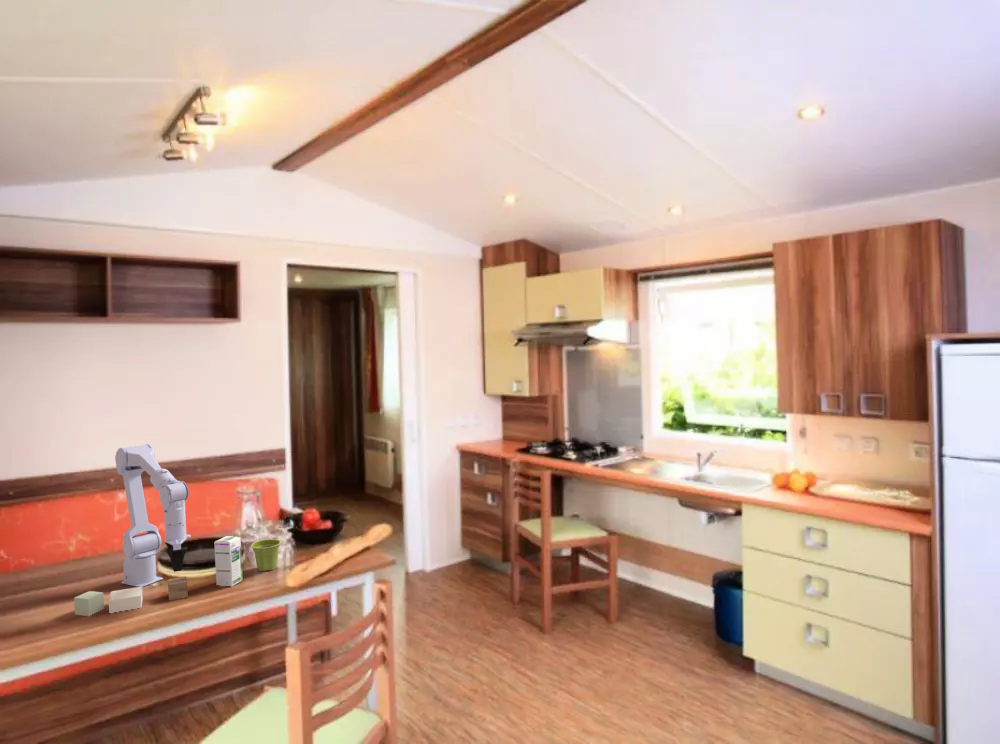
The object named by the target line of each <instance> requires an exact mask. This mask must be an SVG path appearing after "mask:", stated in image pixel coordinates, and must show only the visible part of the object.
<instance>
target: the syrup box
mask: <svg viewBox="0 0 1000 744" xmlns="http://www.w3.org/2000/svg"><path fill="white" fill-rule="evenodd" d="M242 560H243V558H242V540H241V536H237V535H228V536H227V535H226V536H224V537H222V538H220V539H218V540H215V541H214V563H215V564H214V565H215V579H216V580H215V581H216V582H215V583H216V586H217V585H220V586H219V587H225V586H230V588H233V587H234V586H235V585H237V584H238V583H240V582H243V580H244V579H243V576H244V575H243V561H242Z"/></svg>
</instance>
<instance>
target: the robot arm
mask: <svg viewBox="0 0 1000 744" xmlns="http://www.w3.org/2000/svg"><path fill="white" fill-rule="evenodd" d="M155 453H156V452H155V449H154V447H153V446H152V445H151V444H150V443H147V444H143V445H137V446H136V445H135V446H128V447H118V449H117V451H116V453H115V456H114V459H115V465H116V471H117V474H118V475H121V476H122V478H123V486H124V491H125V496H126V502H127V509H128V515H129V522H130V527H129V528H127V530H126V531H125V532H124V533H123V534H122V551H123V553H124V555H125V558H124V560H123V564H122V565H123V581H121V584H122V585H123V584H124V585H128V586H131V587H135V588H136V587H142V588H143V587H146V586H149V585H150V584H153V583H157V582H159V581H162V580H163V577H161V576H157V563H156V562H157V558H156V554H157V553H158V550H160V548H161V546H162V537H161V534H160V533H159V529H158V526H156V525H154V524H152V523H150V522H149V518H148V517H149V516H148V511H147V507H146V499H145V495H144V488H143V482H142V476H141V475H142V474H143V472H146V473H147V475H149V476H150V478H149V479H150V480H149V482H150V483H151V484H152V485H153V486H154V487H155V489H156V490H157V492H159V495H158V496H159V499H160V503H161V508H162V510H163V513H164V514H163V515H164V516H163V517H164V543H165V545H166V547H167V548H166V549H165V550H166V554H167V555H168V558H169V559H170V563H171V566H172V571H173V572H174V573H176V572H180V571H181V572H182V570H183V565H184V558H185V555H186V553H187V551H188V547H187V546H184V545H185V543H186V540H187V539H190V538H191V536H192V535H191V534H187V522H186V521H187V520H186V500H187V499H188V498H189V496H190V495H189V494H190V493H189V492H190V490H189V487H188V485H187V484H186V482H185V481H184V480H183V481H180V480H177V479H176V477H174V475H173V474H172V473H171V472H170V471H169V470H168V469H166V468H162V467H161V466H160V464H159V462H158V461H157V460H156V458H155V457H156V456H155V455H156V454H155Z"/></svg>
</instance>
